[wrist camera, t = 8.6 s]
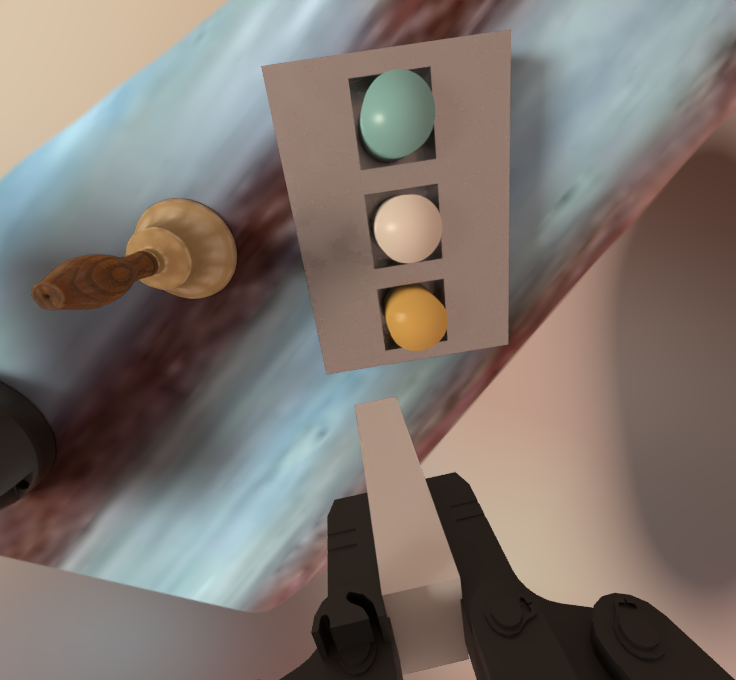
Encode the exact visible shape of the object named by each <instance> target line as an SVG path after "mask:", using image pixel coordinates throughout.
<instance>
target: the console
mask: <svg viewBox="0 0 736 680" xmlns="http://www.w3.org/2000/svg"><path fill="white" fill-rule="evenodd" d="M261 67H262V72H263V77H264V82H265V86H266V91H267V96H268V100H269V105H270V110H271V114H272V119H273V124H274V129H275V133H276V138H277V143H278V147H279V152H280V157H281V162H282V166H283V171H284V176H285V180H286V185H287V190H288V195H289V199H290V204H291V209H292V213H293V218H294V223H295V228H296V232H297V237H298V242H299V246H300V251H301V256H302V260H303V265H304V270H305V275H306V279H307V284H308V289H309V293H310V298H311V303H312V308H313V312H314V317H315V322H316V326H317V331H318V336H319V341H320V345H321V350H322V355H323V359H324V364H325V369H326V374H332V373H338V372H344V371H350V370H356V369H362V368H368V367H374V366H380V365H386V364H392V363H399V362H405V361H411V360H417V359H423V358H429V357H435V356H441V355H447V354H453V353H459V352H465V351H471V350H477V349H483V348H489V347H495V346H501V345H507V344H508V312H509V199H510V86H511V29H510V30H504V31H497V32H490V33H483V34H476V35H470V36H463V37H456V38H449V39H442V40H436V41H429V42H422V43H415V44H408V45H402V46H395V47H388V48H381V49H374V50H368V51H361V52H354V53H347V54H341V55H334V56H327V57H320V58H313V59H307V60H300V61H293V62H286V63H279V64H273V65H266V66H261ZM394 69H405V70H409V71H412V72H414V73H416V74H417V75H419V76H420V77H421V78H422V79H423V80H424V81H425V82H426V83H427V85H428V86H429V88H430V90H431V92H432V95H433V98H434V102H435V121H434V125H433V128H432V131H431V133H430V135H429V137H428V138H427V140H426V141H425V142H424V144H423V145H422V146H420V147H419V148H418V149H417V150H415V151H414V152H412V153H410V154H409V155H407V156H406V157H404V158H402V159H401V160H398V161H395V162H383V161H379V160H377V159H375V158H374V157H372V156H371V155H370V154H369V153H368V152H367V151H366V150H365V148H364V147H363V145H362V143H361V140H360V137H359V132H358V122H359V117H360V113H361V109H362V105H363V101H364V98H365V95H366V92H367V90H368V89H369V87H370V85H371V84H372V83H373V81H374V80H375V79H376V78H377V77H379V76H380V75H381V74H383V73H385V72H387V71H390V70H394ZM410 194H412V195H419V196H422V197H425V198H426V199H428V200H429V201H431V202H432V203H433V204H434V205H435V206H436V208H437V209H438V211H439V213H440V216H441V219H442V235H441V239H440V241H439V244H438V246H437V247H436V249H435V250H434V251H433V252H432V253H431V254H430V255H429V256H428V257H427V258H425V259H423V260H421V261H419V262H415V263H401V262H398V261H395V260H393V259H392V258H390V257H389V256H388V255H387V254H386V253H385V252H384V251H383V250H382V249H381V248H380V246H379V245H378V244H377V243H376V241H375V239H374V237H373V234H372V228H371V224H372V218H373V215H374V212H375V210H376V209H377V207H378V206H379V205H380V204H381V203H382V202H383V201H384V200H386V199H388V198H390V197H392V196H396V195H410ZM413 283H419V284H421V285H423V286H424V287H425V288H427V289H428V290H429V291H430V292H431V293H432V294H433V295H434V296H435V297H436V298H437V299H438V300H439V301H440V302H441V304H442V305H443V306H444V308H445V309H446V312H447V315H448V326H447V330H446V332H445V334H444V336H443V337H442V339H441V340H440V341H439V342H438V343H437V344H436V345H434V346H433V347H431V348H429V349H426V350H422V351H410V350H407V349H404V348H402V347H401V346H399V345H398V344H397V343H396V342H395V341H394V339H393V338H392V336H391V334H390V331H389V328H388V326H387V323H386V321H385V318H384V315H383V311H382V306H383V301H384V298H385V296H386V294H387V293H388V292H389V291H390V290H391V289H392V288H393V287H395V286H401V285H407V284H413Z"/></svg>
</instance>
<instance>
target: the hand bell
mask: <svg viewBox="0 0 736 680" xmlns="http://www.w3.org/2000/svg"><path fill="white" fill-rule="evenodd" d="M236 264H237V250H236V245H235V241H234V238H233V236H232V234H231V232H230V230H229V228H228V227H227V225H226V224H225V223H224V221H223V220H222V219H221V218H220V217H219V216H218V215H217V214H216V213H215V212H214V211H212V210H211V209H209V208H208V207H206V206H204V205H202V204H200V203H198V202H195V201H192V200H187V199H180V198H173V199H167V200H163V201H160V202H158V203H156V204H154V205H152V206H151V207H149V208H148V209H147V210H146V211H145V212H144V213H143V214H142V216H141V217H140V219H139V221H138V223H137V225H136V228H135V233H134V235H133V236H132V237H131V238H130V240H129V242H128V244H127V248H126V256H124V257H116V256H111V255H86V256H81V257H77V258H73V259H70V260H68V261H66V262H64V263H62V264H60V265H59V266H57V267H56V268H55V269H54V270H52V271H51V272H50V273H49V274H48V276H47V277H46V278H45V279H43V280H42V281H41V282H39V283H37V284H35V285H34V287H33V288H32V291H31V295H32V297H33V299H34V300H35V301H36V303H37V304H38V305H39V306H40V307H42V308H44V309H47V310H60V309H73V310H86V309H93V308H98V307H101V306H104V305H106V304H109V303H111V302H113V301H115V300H117V299H118V298H120V297H121V296H122V295H124V294H125V293H126V292H127V291H128V290H129V289H130V288H131V286H132V284H133V283H134V282H135V281H137V280H140V281H142V282H143V283H144V284H146V285H148V286H150V287H153V288H156V289H161V290H165V291H167V292H169V293H171V294H173V295H176V296H179V297H183V298H190V299H198V298H205V297H208V296H211V295H213V294H215V293H217V292H219V291H221V290H222V289H223V288H224V287H225V286H226V285H227V284H228V283H229V281H230V280H231V278H232V276H233V274H234V272H235V269H236Z"/></svg>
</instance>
